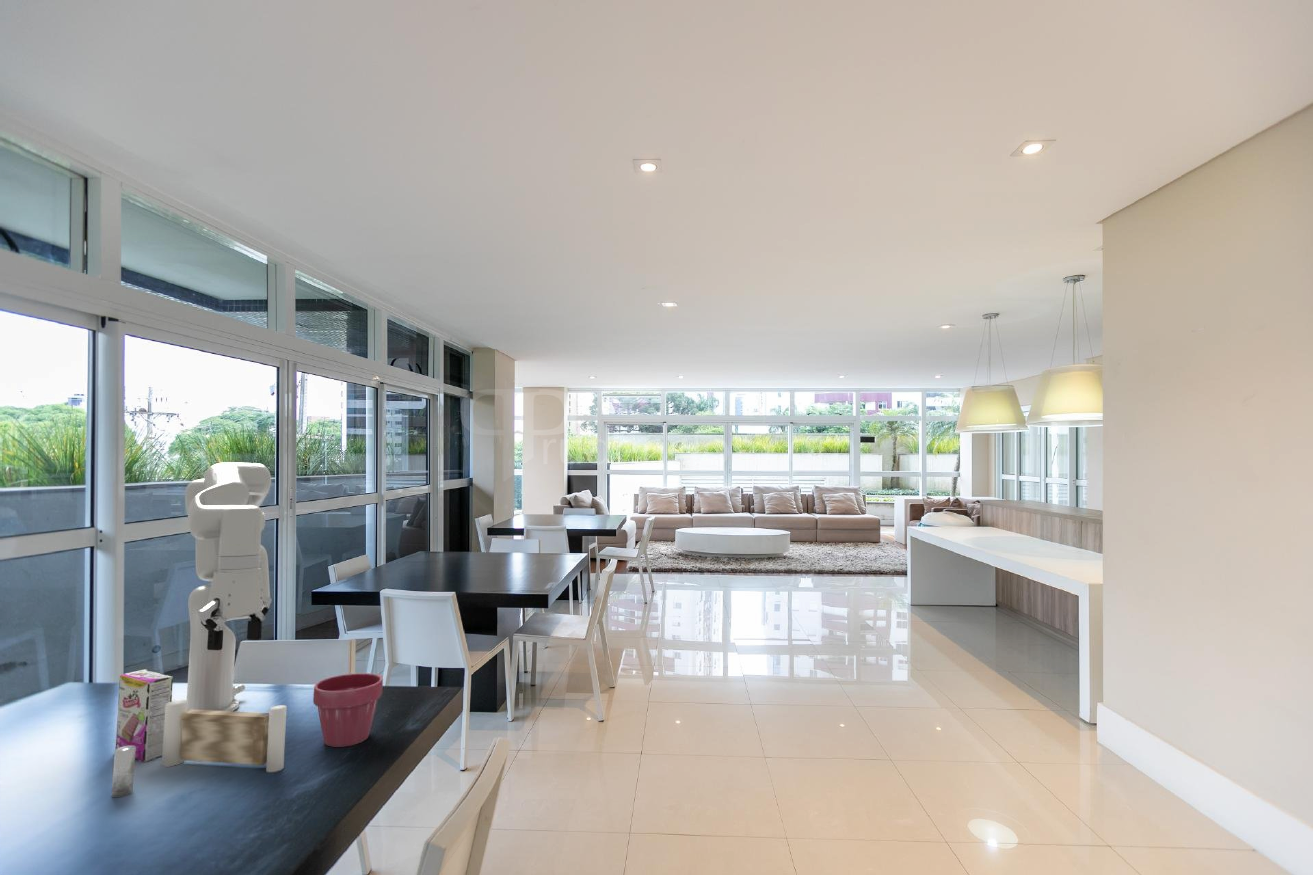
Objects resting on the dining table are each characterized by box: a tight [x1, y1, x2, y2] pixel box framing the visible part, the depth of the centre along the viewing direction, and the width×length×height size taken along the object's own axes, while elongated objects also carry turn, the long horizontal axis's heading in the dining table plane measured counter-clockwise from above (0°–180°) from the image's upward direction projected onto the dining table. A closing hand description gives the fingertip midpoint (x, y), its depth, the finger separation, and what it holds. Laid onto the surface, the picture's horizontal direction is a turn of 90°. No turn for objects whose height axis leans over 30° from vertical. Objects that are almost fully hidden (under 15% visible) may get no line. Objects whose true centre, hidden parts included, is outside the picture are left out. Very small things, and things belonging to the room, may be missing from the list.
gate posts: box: [161, 699, 288, 773], centre depth 130 cm, size 4×26×12 cm, turn 84°
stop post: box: [111, 745, 136, 798], centre depth 118 cm, size 3×3×8 cm
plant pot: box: [312, 672, 384, 748], centre depth 145 cm, size 14×14×13 cm
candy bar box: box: [114, 668, 174, 763], centre depth 136 cm, size 11×5×16 cm, turn 65°
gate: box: [180, 709, 269, 766], centre depth 130 cm, size 18×2×9 cm, turn 84°
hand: (234, 644), depth 137 cm, fingers open, 9 cm apart
